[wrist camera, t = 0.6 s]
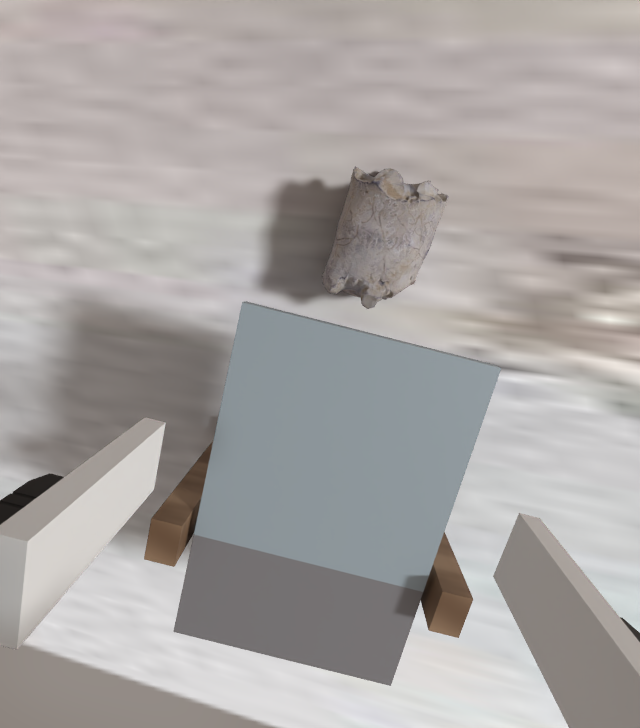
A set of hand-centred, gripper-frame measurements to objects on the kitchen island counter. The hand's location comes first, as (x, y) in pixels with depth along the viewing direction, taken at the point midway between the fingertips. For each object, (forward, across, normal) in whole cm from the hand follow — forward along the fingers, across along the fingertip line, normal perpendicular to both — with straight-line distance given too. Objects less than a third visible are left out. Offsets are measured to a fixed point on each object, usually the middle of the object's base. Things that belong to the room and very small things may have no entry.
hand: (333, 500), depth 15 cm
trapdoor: (+15, +1, -7) cm, 16 cm away
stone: (+27, +1, +11) cm, 29 cm away
